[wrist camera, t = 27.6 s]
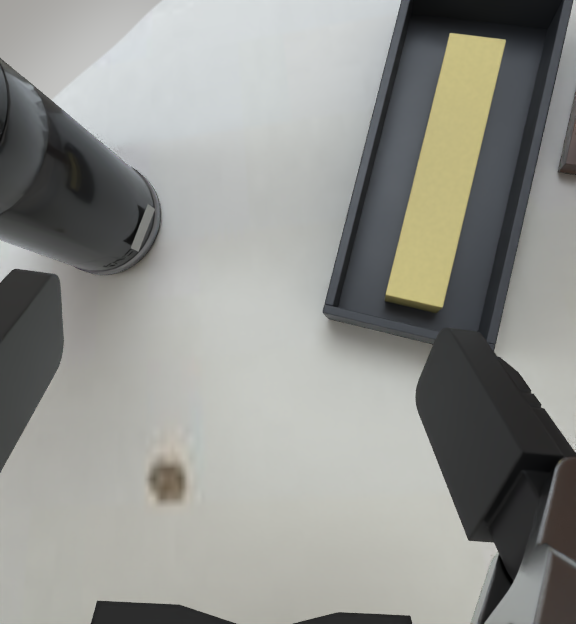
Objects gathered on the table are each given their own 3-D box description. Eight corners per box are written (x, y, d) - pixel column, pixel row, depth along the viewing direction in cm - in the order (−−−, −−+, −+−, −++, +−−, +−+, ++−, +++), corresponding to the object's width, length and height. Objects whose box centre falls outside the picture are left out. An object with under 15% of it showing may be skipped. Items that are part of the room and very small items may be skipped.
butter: (436, 313, 36) (442, 307, 32) (384, 301, 36) (385, 294, 33) (495, 67, 37) (506, 39, 34) (443, 60, 38) (450, 32, 34)
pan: (479, 355, 35) (493, 353, 31) (327, 318, 37) (322, 312, 33) (554, 29, 37) (576, -13, 33) (405, 11, 39) (408, -30, 35)
